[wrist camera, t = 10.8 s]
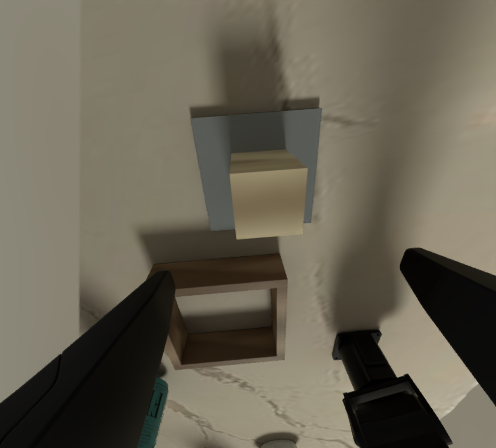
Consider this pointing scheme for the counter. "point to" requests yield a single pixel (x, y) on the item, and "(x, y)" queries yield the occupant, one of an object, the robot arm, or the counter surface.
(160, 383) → the beverage bottle
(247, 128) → the pad
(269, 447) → the ramekin
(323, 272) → the counter surface
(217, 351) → the box
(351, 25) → the counter surface
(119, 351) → the robot arm
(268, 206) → the maple block
